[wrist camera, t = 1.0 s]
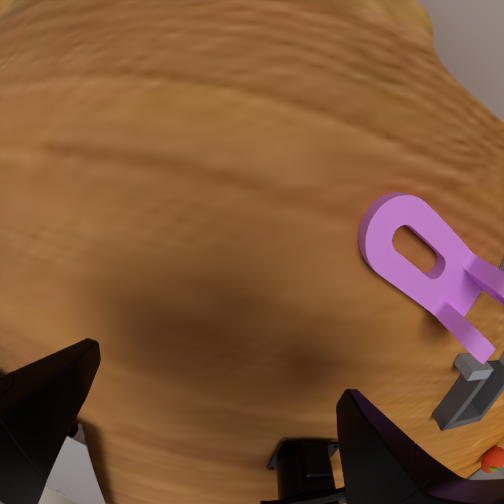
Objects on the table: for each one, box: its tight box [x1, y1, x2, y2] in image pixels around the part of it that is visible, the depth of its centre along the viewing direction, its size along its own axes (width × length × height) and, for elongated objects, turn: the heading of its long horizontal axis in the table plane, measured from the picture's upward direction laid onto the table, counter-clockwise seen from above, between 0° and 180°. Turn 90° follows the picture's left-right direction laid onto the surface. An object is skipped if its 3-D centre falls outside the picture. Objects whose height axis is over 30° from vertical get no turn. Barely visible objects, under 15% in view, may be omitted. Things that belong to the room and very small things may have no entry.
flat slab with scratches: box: [45, 423, 106, 504], centre depth 28 cm, size 45×24×6 cm, turn 161°
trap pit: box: [432, 360, 504, 431], centre depth 21 cm, size 8×8×3 cm
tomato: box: [481, 447, 504, 473], centre depth 30 cm, size 8×7×7 cm
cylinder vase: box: [468, 466, 504, 480], centre depth 27 cm, size 12×12×25 cm
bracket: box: [358, 192, 504, 364], centre depth 14 cm, size 13×6×7 cm, turn 59°
